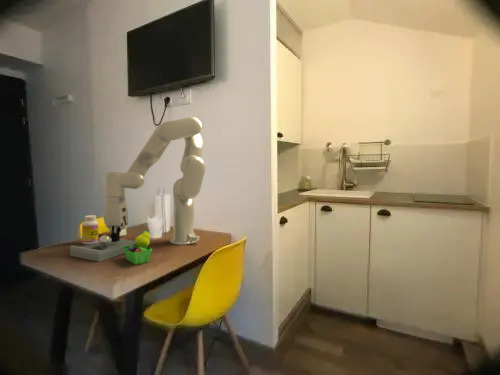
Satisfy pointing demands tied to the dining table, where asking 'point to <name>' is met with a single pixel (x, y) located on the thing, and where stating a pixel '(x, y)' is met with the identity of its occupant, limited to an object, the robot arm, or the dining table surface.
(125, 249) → the fruit basket
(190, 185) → the robot arm
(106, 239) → the ball
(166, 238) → the dining table surface
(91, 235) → the supplement bottle
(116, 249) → the board
